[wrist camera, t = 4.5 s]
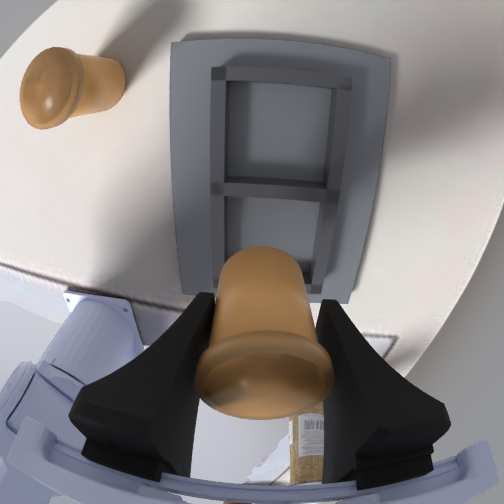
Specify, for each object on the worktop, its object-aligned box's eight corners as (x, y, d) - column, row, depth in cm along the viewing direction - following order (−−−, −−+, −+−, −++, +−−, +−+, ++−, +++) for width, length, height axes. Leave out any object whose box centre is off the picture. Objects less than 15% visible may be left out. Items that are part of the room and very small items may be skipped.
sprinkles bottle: (280, 401, 31) (278, 504, 19) (303, 384, 29) (308, 498, 17) (310, 409, 32) (314, 505, 20) (333, 393, 30) (344, 497, 18)
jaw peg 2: (302, 317, 15) (319, 417, 10) (215, 316, 15) (202, 417, 10) (314, 241, 13) (351, 343, 7) (210, 239, 13) (184, 343, 7)
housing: (345, 295, 22) (352, 316, 20) (185, 286, 23) (177, 306, 21) (384, 60, 13) (400, 56, 11) (176, 45, 14) (162, 38, 12)
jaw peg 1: (130, 111, 16) (78, 122, 11) (77, 119, 16) (21, 135, 11) (130, 48, 14) (79, 36, 9) (77, 61, 14) (20, 61, 9)
